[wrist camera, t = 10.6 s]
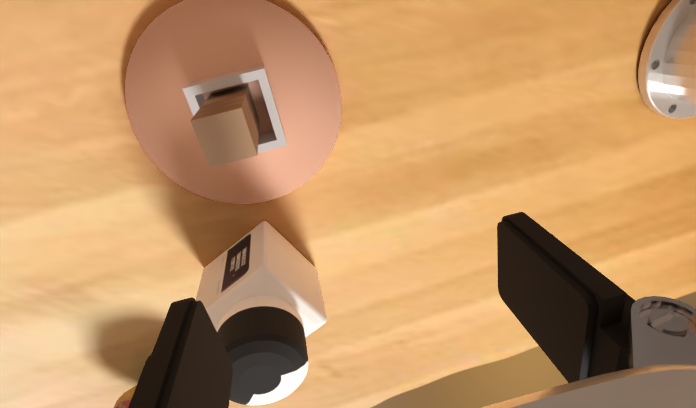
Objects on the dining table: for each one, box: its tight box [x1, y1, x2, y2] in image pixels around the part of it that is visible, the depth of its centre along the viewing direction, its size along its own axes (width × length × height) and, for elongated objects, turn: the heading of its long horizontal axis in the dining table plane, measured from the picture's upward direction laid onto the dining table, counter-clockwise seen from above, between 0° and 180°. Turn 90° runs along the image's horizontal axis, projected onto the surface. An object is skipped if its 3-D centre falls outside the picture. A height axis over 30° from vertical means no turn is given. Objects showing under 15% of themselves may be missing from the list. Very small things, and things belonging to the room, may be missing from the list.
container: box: [196, 221, 327, 405], centre depth 31 cm, size 8×8×13 cm
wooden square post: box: [190, 84, 259, 168], centre depth 25 cm, size 3×3×9 cm
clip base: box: [125, 0, 342, 204], centre depth 28 cm, size 16×16×4 cm
